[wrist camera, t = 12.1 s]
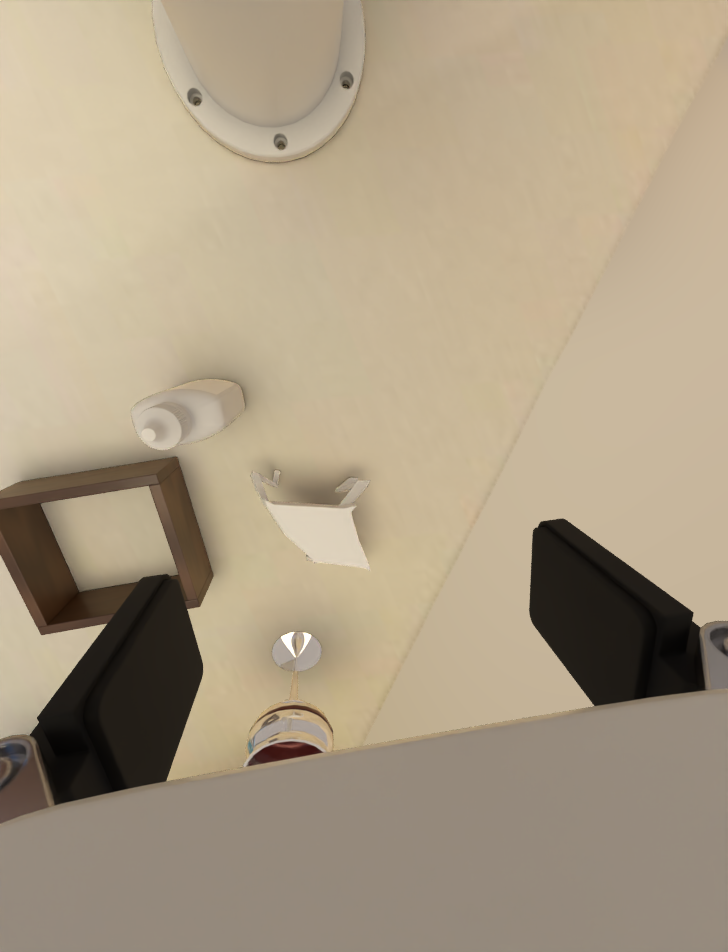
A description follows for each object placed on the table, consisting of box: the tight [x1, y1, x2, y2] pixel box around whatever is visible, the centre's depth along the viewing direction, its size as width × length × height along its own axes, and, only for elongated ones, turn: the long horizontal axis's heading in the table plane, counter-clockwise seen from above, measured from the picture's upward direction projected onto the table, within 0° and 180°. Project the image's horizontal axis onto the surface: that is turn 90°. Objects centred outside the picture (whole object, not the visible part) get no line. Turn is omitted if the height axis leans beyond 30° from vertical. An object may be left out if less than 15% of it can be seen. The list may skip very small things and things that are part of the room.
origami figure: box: [251, 470, 370, 571], centre depth 33 cm, size 12×8×5 cm
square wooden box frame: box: [0, 457, 213, 635], centre depth 32 cm, size 12×13×4 cm
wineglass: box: [243, 632, 334, 767], centre depth 35 cm, size 7×7×12 cm
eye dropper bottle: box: [131, 379, 245, 450], centre depth 26 cm, size 4×6×12 cm
